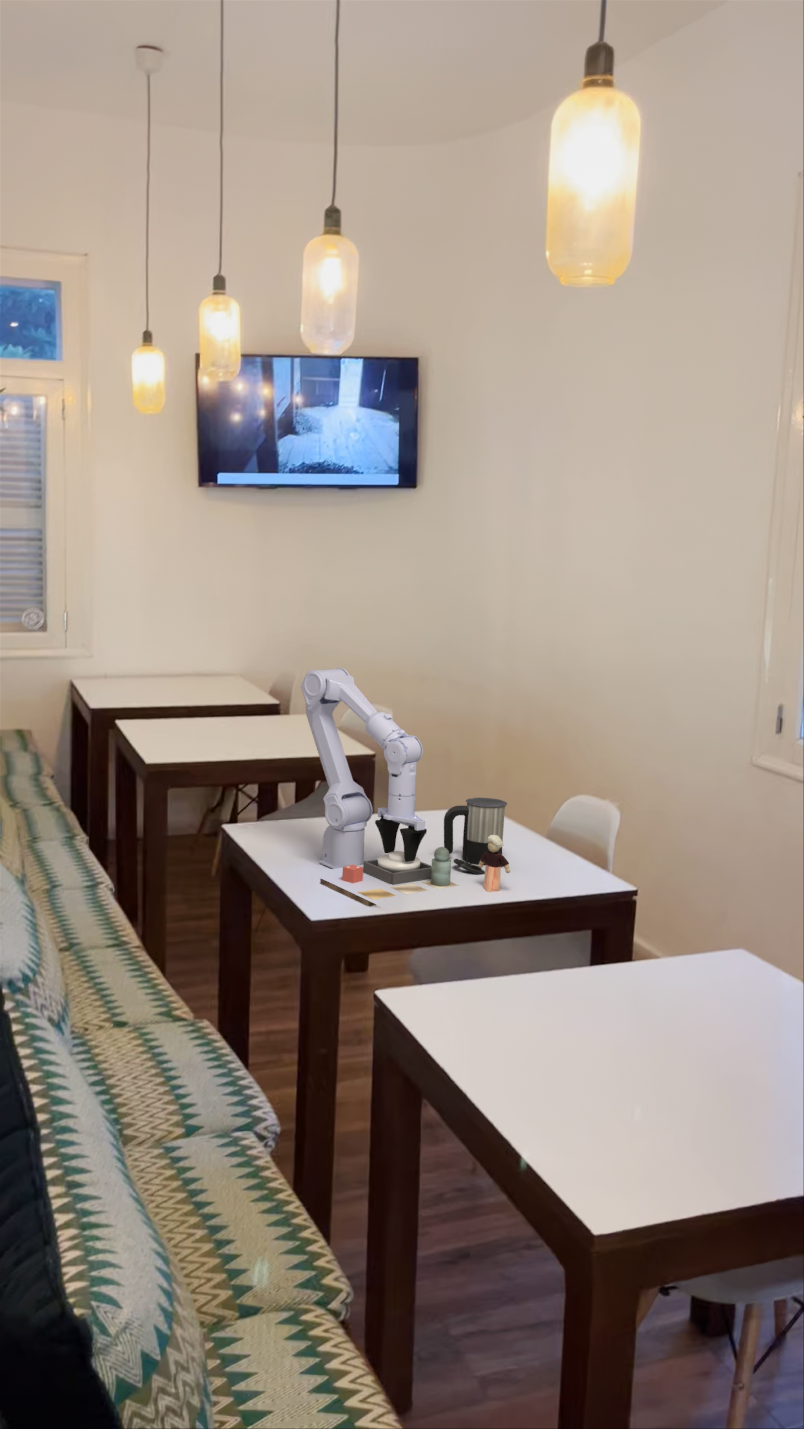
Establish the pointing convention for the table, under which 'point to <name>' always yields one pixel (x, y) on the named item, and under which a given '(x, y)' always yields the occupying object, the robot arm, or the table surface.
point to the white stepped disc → (397, 862)
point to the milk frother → (475, 829)
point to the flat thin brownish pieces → (382, 891)
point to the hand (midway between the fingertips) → (399, 856)
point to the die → (352, 874)
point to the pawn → (441, 867)
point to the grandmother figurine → (493, 864)
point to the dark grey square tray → (397, 873)
